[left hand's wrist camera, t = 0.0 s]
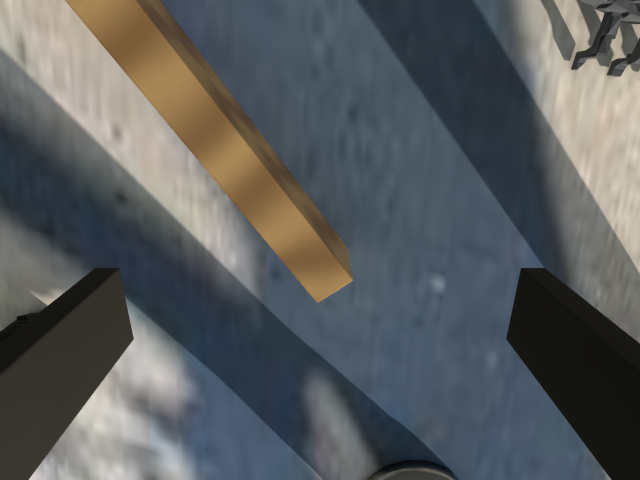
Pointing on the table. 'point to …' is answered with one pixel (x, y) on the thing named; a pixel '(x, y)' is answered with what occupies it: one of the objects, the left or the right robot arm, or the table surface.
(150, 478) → the table surface
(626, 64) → the toy
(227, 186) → the post
